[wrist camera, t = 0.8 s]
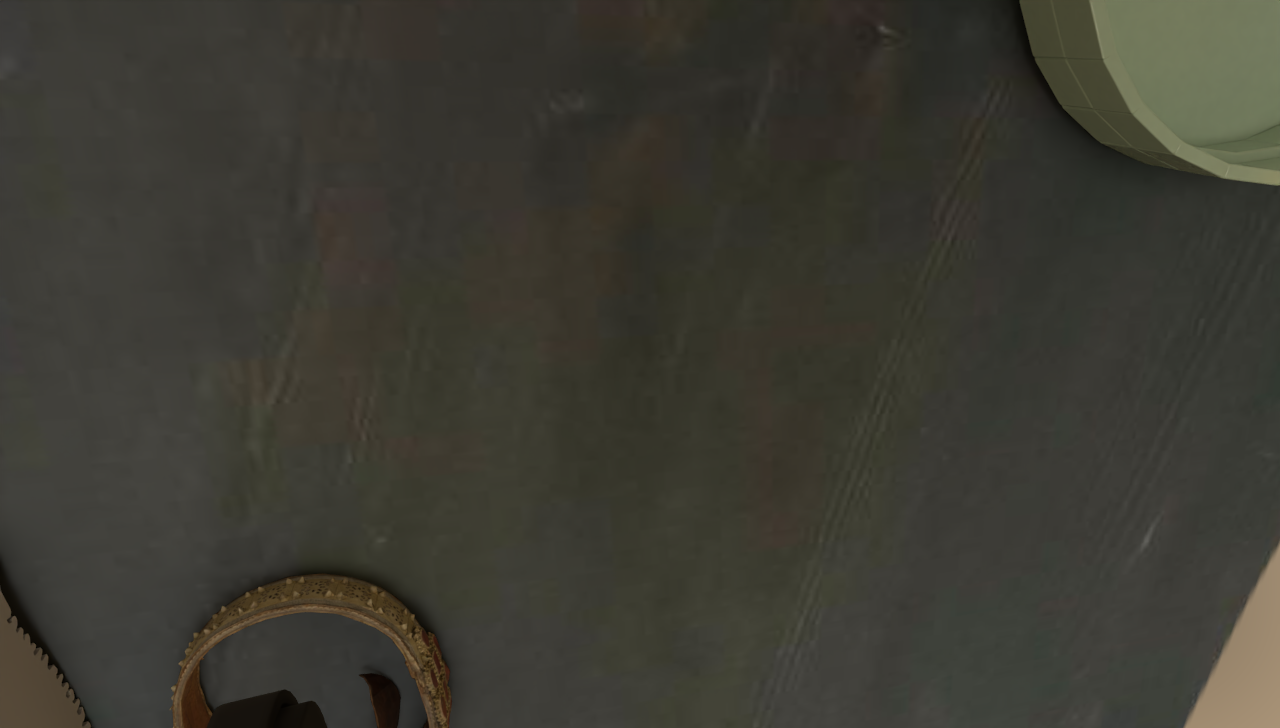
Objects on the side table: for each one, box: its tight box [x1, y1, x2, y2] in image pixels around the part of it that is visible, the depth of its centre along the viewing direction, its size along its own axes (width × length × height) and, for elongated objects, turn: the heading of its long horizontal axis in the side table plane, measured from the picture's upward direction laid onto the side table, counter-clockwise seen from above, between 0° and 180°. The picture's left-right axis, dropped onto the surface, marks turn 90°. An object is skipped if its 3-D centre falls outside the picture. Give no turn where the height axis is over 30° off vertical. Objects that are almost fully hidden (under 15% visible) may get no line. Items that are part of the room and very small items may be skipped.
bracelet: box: [170, 574, 452, 728], centre depth 30 cm, size 9×9×3 cm
